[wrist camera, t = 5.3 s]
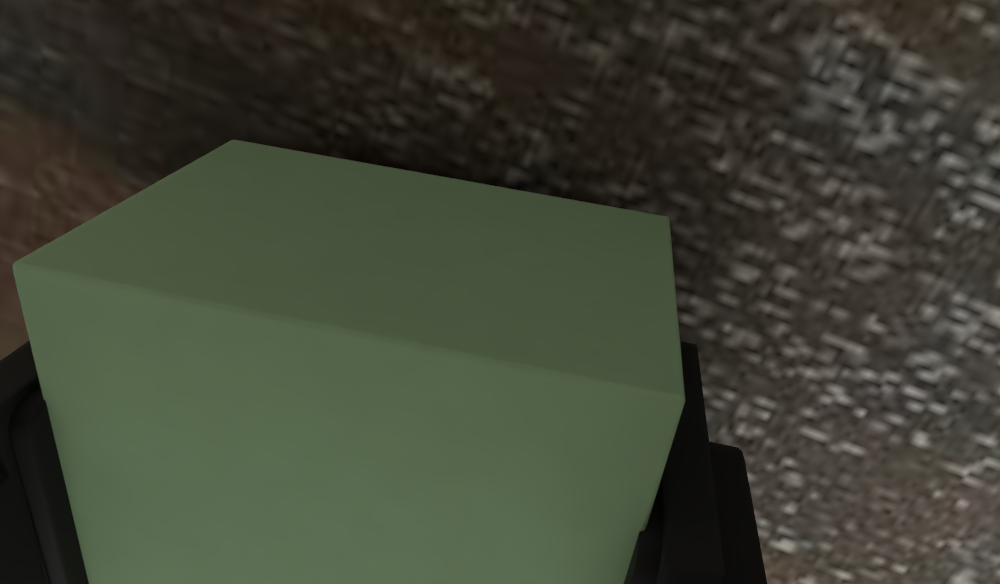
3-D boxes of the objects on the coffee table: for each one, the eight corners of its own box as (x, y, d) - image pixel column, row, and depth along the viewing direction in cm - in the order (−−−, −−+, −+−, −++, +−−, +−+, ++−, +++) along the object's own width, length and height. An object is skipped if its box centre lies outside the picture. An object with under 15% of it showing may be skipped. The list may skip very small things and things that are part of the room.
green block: (231, 137, 10) (8, 262, 6) (670, 216, 9) (686, 399, 6) (252, 466, 13) (107, 674, 9) (587, 540, 12) (566, 791, 9)
